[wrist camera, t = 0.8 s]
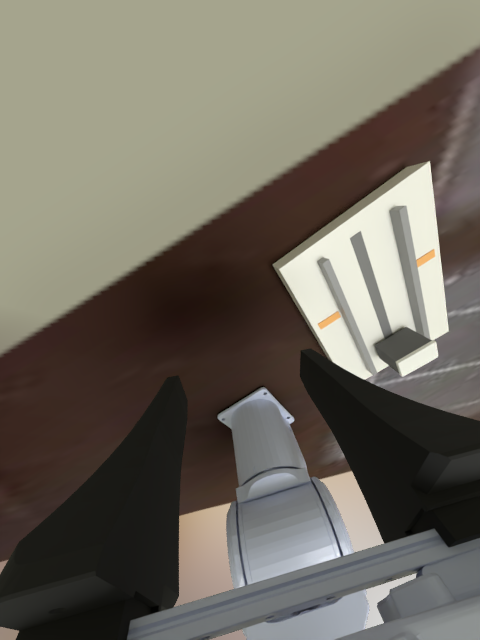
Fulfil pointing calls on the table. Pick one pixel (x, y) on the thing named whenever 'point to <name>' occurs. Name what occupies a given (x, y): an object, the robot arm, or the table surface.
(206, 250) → the table surface
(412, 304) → the console
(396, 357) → the fader tab
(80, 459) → the table surface
